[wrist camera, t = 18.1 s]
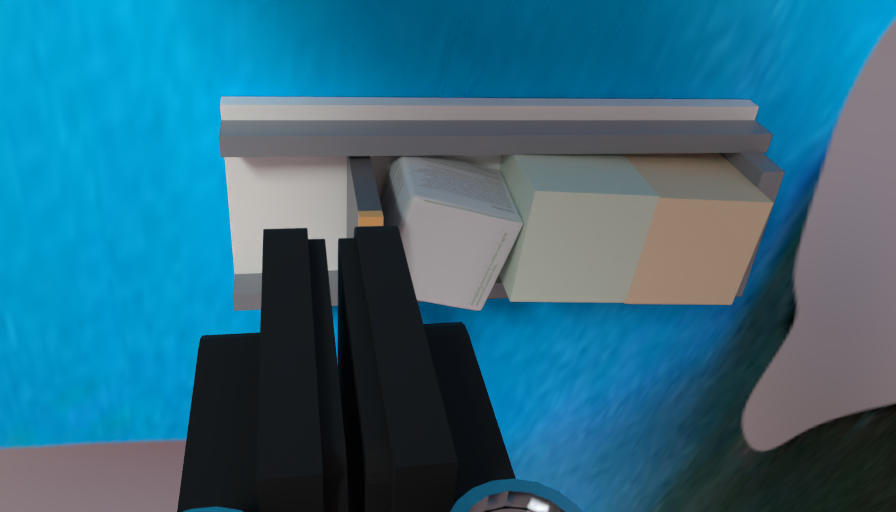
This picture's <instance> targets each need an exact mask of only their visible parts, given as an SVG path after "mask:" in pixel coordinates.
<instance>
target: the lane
mask: <svg viewBox="0 0 896 512" xmlns="http://www.w3.org/2000/svg"><path fill="white" fill-rule="evenodd" d="M758 108H759V106H757V105H756V104H755V103H753V102H752V101H751V100H736V99H566V98H396V97H226V96H221V102H220V109H221V127H220V133H219V142H220V153H221V157H225V167H226V179H227V191H228V202H229V214H230V226H231V237H232V249H233V261H234V272H235V276H234V289H233V300H234V311H236V310H258V309H261V292H262V257H263V230H264V229H285V228H307V231H308V239H325V244H326V254H327V264H328V274H329V284H330V295H331V305H332V306H338V239H339V238H347V156H370V159H371V163H372V168H373V172H374V177H375V181H376V185H377V190H378V194H379V199H380V196H381V193H382V190H383V188H384V185H385V182H386V180H387V177H388V174H389V171H390V169H391V166H392V163H393V161H394V158H395V156H422V155H442V156H446V157H449V158H453V159H457V160H460V161H464V162H468V163H471V164H475V165H479V166H483V167H487V168H491V169H494V170H498V171H499V167H500V162H501V157H502V155H534V154H646V153H720V154H721V155H722V156H723V157H724V158H725V159H726V160H727V161H728V162H730V163H731V164H732V165H733V166H734V167H735V168H736V169H737V170H738V171H739V172H741V173H742V174H743V175H744V176H745V177H746V178H747V179H748V180H749V181H750V182H751V183H753V184H754V185H755V186H756V187H757V188H758V189H759V190H760V191H761V192H762V193H764V194H765V195H766V196H767V197H768V198H769V199H770V200H771V201H772V202H773V205H774V202H775V199H776V196H777V193H778V190H779V188H780V185H781V182H782V179H783V176H784V173H785V172H784V171H783V170H782V169H781V168H780V167H779V166H777V165H776V164H775V163H774V162H773V161H771V160H770V159H769V158H768V157H767V156H765V155H764V154H763V153H762V152H767V151H768V148H769V145H770V142H771V139H772V136H773V134H772V133H770V132H769V131H768V130H767V129H765V128H764V127H763V126H762V125H760V124H759V123H758V122H756V121H755V118H756V115H757V112H758ZM772 208H773V206H772ZM772 208H771V211H772ZM771 211H770V213H771ZM770 213H769V216H770ZM769 216H768V218H767V220H766V223H765V225H764V228H763V230H762V232H761V235H760V237H759V240H758V242H757V245H756V247H755V249H754V252H753V254H752V257H751V259H750V262H749V264H748V266H747V269H746V271H745V274H744V276H743V279H742V281H741V283H740V286H739V288H738V291H737V293H736V296H735V297H741V296H742V294H743V291H744V288H745V286H746V283H747V280H748V277H749V274H750V271H751V268H752V265H753V262H754V260H755V257H756V254H757V251H758V248H759V245H760V242H761V239H762V237H763V234H764V231H765V228H766V225H767V222H768V219H769ZM495 298H508V295H507V293H506V291H505V288H504V286H503V283H502V281H501V279H500V276H499V275H498V277H497V279H496V282H495V284H494V286H493V288H492V290H491V292H490V294H489V296H488V298H487V299H495ZM417 302H424V301H419V300H417Z"/></svg>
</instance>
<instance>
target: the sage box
mask: <svg viewBox="0 0 896 512" xmlns="http://www.w3.org/2000/svg"><path fill="white" fill-rule="evenodd" d="M499 171H500V172H501V173H502V175H503V178H504V180H505V182H506V184H507V187H508V189H509V191H510V194H511V196H512V198H513V200H514V203H515V205H516V207H517V209H518V212H519V214H520V216H521V219H522V221H523V223H524V224H523V226H522V228H521V230H520V232H519V234H518V236H517V238H516V240H515V242H514V244H513V247H512V249H511V251H510V253H509V255H508V257H507V259H506V261H505V263H504V265H503V267H502V269H501V271H500V273H499V276H500V279H501V281H502V283H503V286H504V288H505V291H506V293H507V295H508V298H509V300H510V302H598V303H625V302H626V299H627V296H628V293H629V290H630V286H631V283H632V280H633V277H634V274H635V271H636V268H637V265H638V262H639V259H640V255H641V252H642V249H643V246H644V243H645V240H646V237H647V234H648V231H649V228H650V224H651V221H652V218H653V215H654V212H655V209H656V206H657V203H658V200H659V195H658V194H657V193H656V192H655V190H654V189H653V188H652V187H651V186H650V185H649V183H648V182H647V181H646V180H645V179H644V178H643V177H642V175H641V174H640V173H639V172H638V171H637V170H636V168H635V167H634V166H633V165H632V164H631V163H630V161H629V160H628V159H627V158H626V157H625V156H624V154H534V155H502V157H501V162H500V167H499Z"/></svg>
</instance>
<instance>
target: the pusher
mask: <svg viewBox="0 0 896 512" xmlns="http://www.w3.org/2000/svg"><path fill="white" fill-rule="evenodd" d="M383 219H384V216H383V212H382V207H381V203H380V199H379V194H378V190H377V185H376V181H375V177H374V172H373V168H372V163H371V159H370V156H347V238H354V228H355V227H360V226H383Z"/></svg>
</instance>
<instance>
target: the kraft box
mask: <svg viewBox="0 0 896 512" xmlns="http://www.w3.org/2000/svg"><path fill="white" fill-rule="evenodd" d="M624 156H625V157H626V158H627V159H628V160H629V161H630V163H631V164H632V165H633V166H634V167H635V168H636V170H637V171H638V172H639V173H640V174H641V175H642V177H643V178H644V179H645V180H646V181H647V182H648V183H649V185H650V186H651V187H652V188H653V189H654V190H655V192H656V193H657V194H658V195H659V200H658V203H657V206H656V209H655V212H654V215H653V218H652V221H651V224H650V228H649V231H648V234H647V237H646V240H645V243H644V246H643V249H642V252H641V255H640V259H639V262H638V265H637V268H636V271H635V274H634V277H633V280H632V283H631V286H630V290H629V293H628V296H627V299H626V302H625V304H698V305H732V303H733V300H734V298H735V296H736V293H737V291H738V288H739V286H740V283H741V281H742V279H743V276H744V274H745V271H746V269H747V266H748V264H749V262H750V259H751V257H752V254H753V252H754V249H755V247H756V245H757V242H758V240H759V237H760V235H761V232H762V230H763V228H764V225H765V223H766V220H767V218H768V216H769V213H770V211H771V208H772V206H773V202H772V201H771V200H770V199H769V198H768V197H767V196H766V195H765V194H764V193H762V192H761V191H760V190H759V189H758V188H757V187H756V186H755V185H754V184H753V183H751V182H750V181H749V180H748V179H747V178H746V177H745V176H744V175H743V174H742V173H741V172H739V171H738V170H737V169H736V168H735V167H734V166H733V165H732V164H731V163H730V162H728V161H727V160H726V159H725V158H724V157H723V156H722V155H721V154H720V153H646V154H624Z"/></svg>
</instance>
